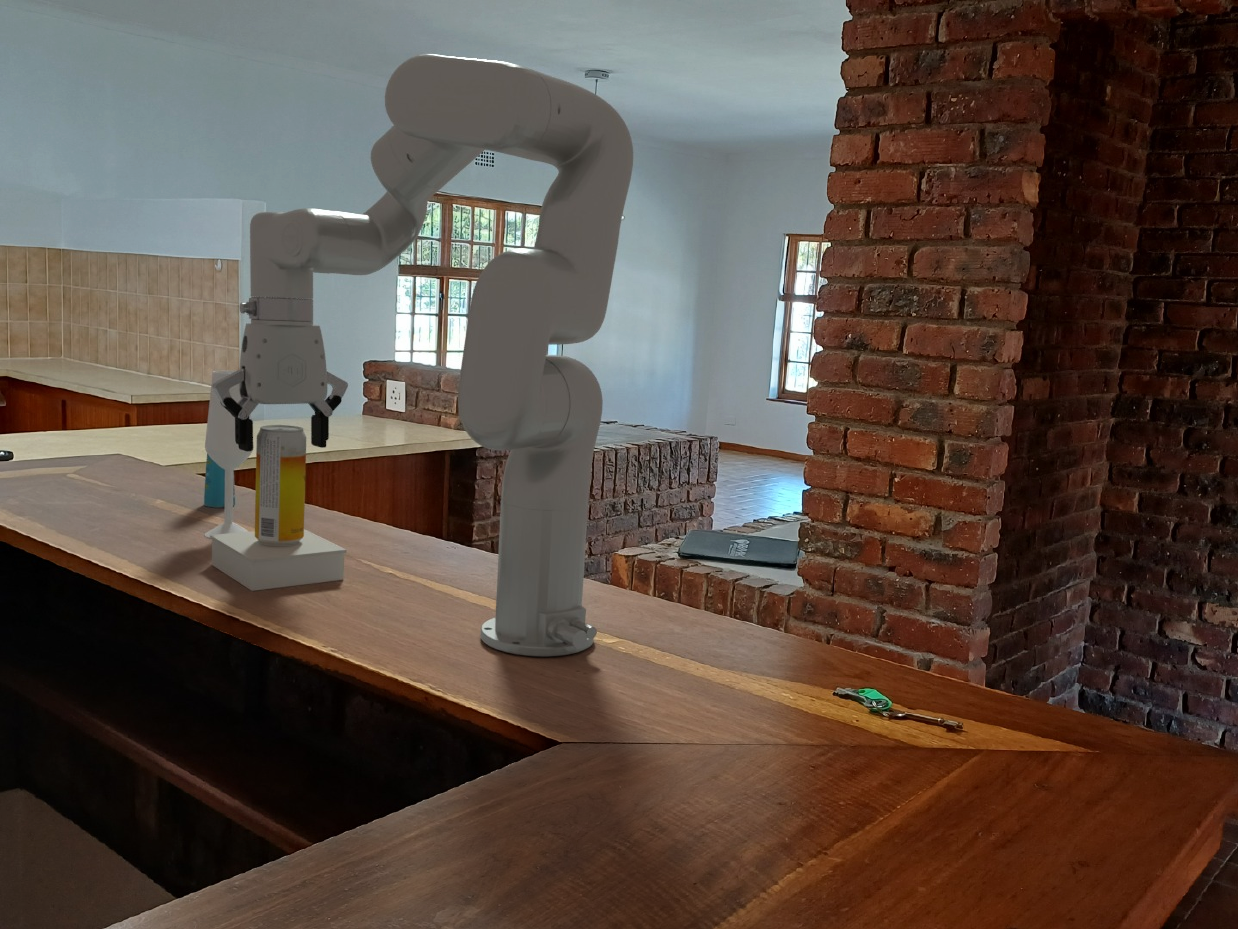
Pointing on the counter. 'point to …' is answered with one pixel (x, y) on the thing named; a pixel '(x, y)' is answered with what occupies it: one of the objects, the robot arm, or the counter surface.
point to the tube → (215, 485)
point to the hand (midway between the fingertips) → (283, 448)
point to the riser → (277, 560)
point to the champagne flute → (224, 449)
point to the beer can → (280, 485)
